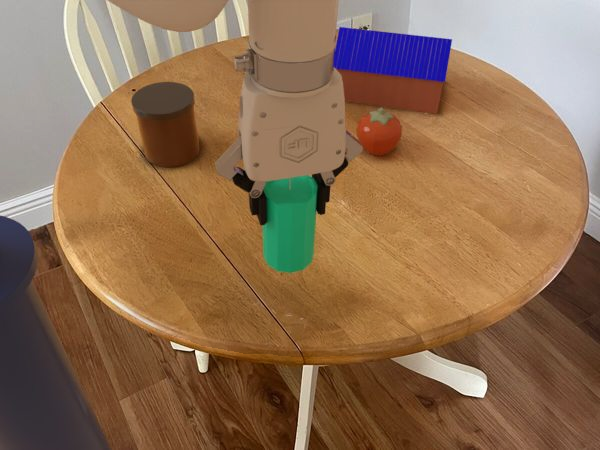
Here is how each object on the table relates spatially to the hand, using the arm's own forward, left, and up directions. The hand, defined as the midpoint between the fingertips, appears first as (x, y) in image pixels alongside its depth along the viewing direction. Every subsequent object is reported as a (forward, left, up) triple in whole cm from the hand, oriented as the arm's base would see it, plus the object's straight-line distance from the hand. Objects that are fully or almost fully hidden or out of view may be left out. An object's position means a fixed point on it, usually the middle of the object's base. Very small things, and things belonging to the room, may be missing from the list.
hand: (289, 210), depth 65 cm
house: (+31, +44, -15) cm, 56 cm away
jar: (-11, +36, -15) cm, 40 cm away
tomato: (+22, +27, -15) cm, 38 cm away
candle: (0, 0, -7) cm, 7 cm away
